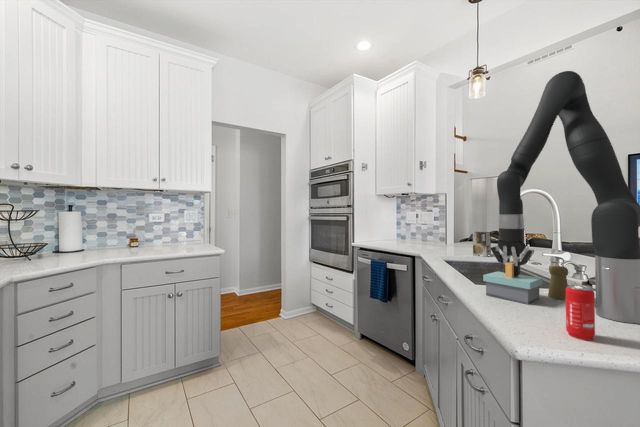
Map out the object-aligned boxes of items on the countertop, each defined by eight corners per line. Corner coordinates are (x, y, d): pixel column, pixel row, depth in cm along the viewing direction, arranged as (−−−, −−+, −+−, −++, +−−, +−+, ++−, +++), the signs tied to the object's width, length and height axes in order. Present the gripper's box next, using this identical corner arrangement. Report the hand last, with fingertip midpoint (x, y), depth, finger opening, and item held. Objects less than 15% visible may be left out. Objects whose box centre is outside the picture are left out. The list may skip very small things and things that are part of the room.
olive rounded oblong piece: (574, 300, 95) (574, 268, 95) (554, 299, 97) (553, 267, 97) (563, 295, 101) (562, 264, 101) (544, 294, 103) (543, 264, 102)
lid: (542, 284, 98) (542, 263, 98) (529, 289, 91) (529, 267, 91) (497, 277, 109) (497, 258, 109) (483, 280, 103) (483, 261, 103)
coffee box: (491, 256, 188) (491, 231, 188) (486, 257, 184) (486, 232, 184) (477, 254, 196) (477, 231, 195) (472, 255, 192) (472, 231, 192)
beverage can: (572, 339, 67) (571, 289, 67) (562, 330, 72) (561, 283, 72) (600, 342, 65) (599, 291, 65) (588, 333, 70) (587, 285, 70)
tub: (539, 298, 98) (539, 281, 98) (528, 304, 92) (527, 286, 92) (498, 290, 108) (498, 274, 108) (486, 295, 103) (485, 278, 103)
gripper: (538, 227, 97) (539, 277, 97) (495, 226, 108) (495, 271, 108) (529, 228, 92) (530, 281, 92) (485, 227, 104) (486, 274, 104)
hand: (511, 275), depth 100 cm, fingers closed on lid
